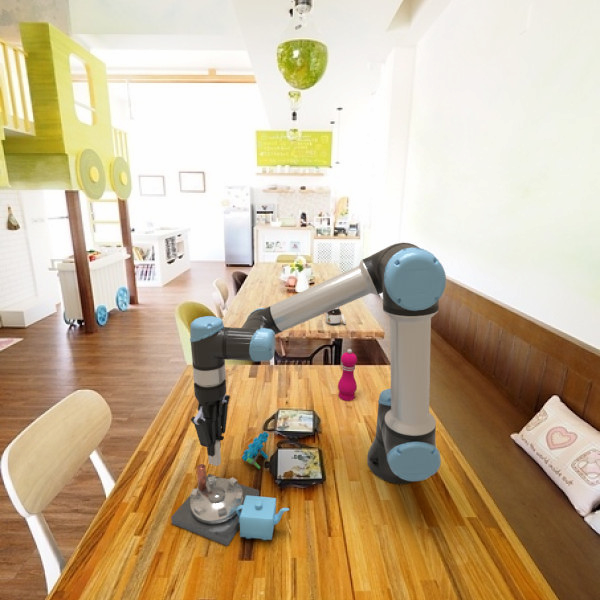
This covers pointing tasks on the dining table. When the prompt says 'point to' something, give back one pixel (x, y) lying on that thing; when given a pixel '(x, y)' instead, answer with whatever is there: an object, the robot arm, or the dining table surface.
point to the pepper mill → (347, 376)
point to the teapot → (258, 517)
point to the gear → (255, 449)
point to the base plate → (211, 531)
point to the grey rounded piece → (215, 498)
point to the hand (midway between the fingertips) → (214, 463)
